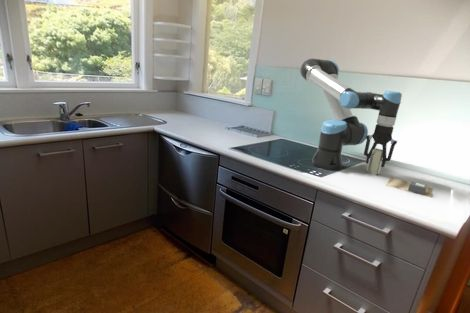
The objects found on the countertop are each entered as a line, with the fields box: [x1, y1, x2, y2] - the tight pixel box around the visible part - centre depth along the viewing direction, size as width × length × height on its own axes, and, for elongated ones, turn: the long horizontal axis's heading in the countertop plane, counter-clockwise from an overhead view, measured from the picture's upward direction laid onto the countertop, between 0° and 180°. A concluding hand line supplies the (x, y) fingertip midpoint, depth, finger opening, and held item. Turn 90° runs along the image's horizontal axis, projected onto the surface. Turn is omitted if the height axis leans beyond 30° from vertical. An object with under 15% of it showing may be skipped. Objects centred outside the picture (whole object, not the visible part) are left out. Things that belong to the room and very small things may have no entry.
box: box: [366, 147, 383, 176], centre depth 141 cm, size 5×4×13 cm
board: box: [385, 176, 434, 198], centre depth 129 cm, size 17×14×1 cm
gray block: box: [407, 181, 428, 196], centre depth 123 cm, size 6×5×3 cm
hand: (373, 171), depth 142 cm, fingers closed on box, 4 cm apart
